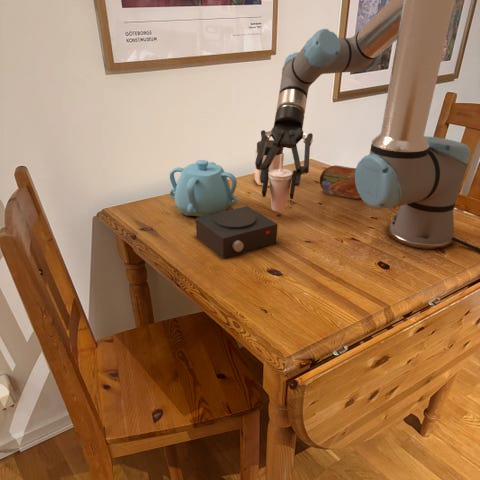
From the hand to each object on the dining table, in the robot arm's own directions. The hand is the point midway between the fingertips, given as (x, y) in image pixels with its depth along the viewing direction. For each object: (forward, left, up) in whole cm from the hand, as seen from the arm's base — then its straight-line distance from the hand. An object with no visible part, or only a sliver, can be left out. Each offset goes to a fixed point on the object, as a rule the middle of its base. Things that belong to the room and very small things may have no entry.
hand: (277, 195), depth 113 cm
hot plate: (-3, +14, -7) cm, 17 cm away
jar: (+27, -17, -8) cm, 32 cm away
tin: (+6, -30, -8) cm, 31 cm away
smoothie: (+2, -3, -5) cm, 6 cm away
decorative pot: (+17, +12, -8) cm, 22 cm away
